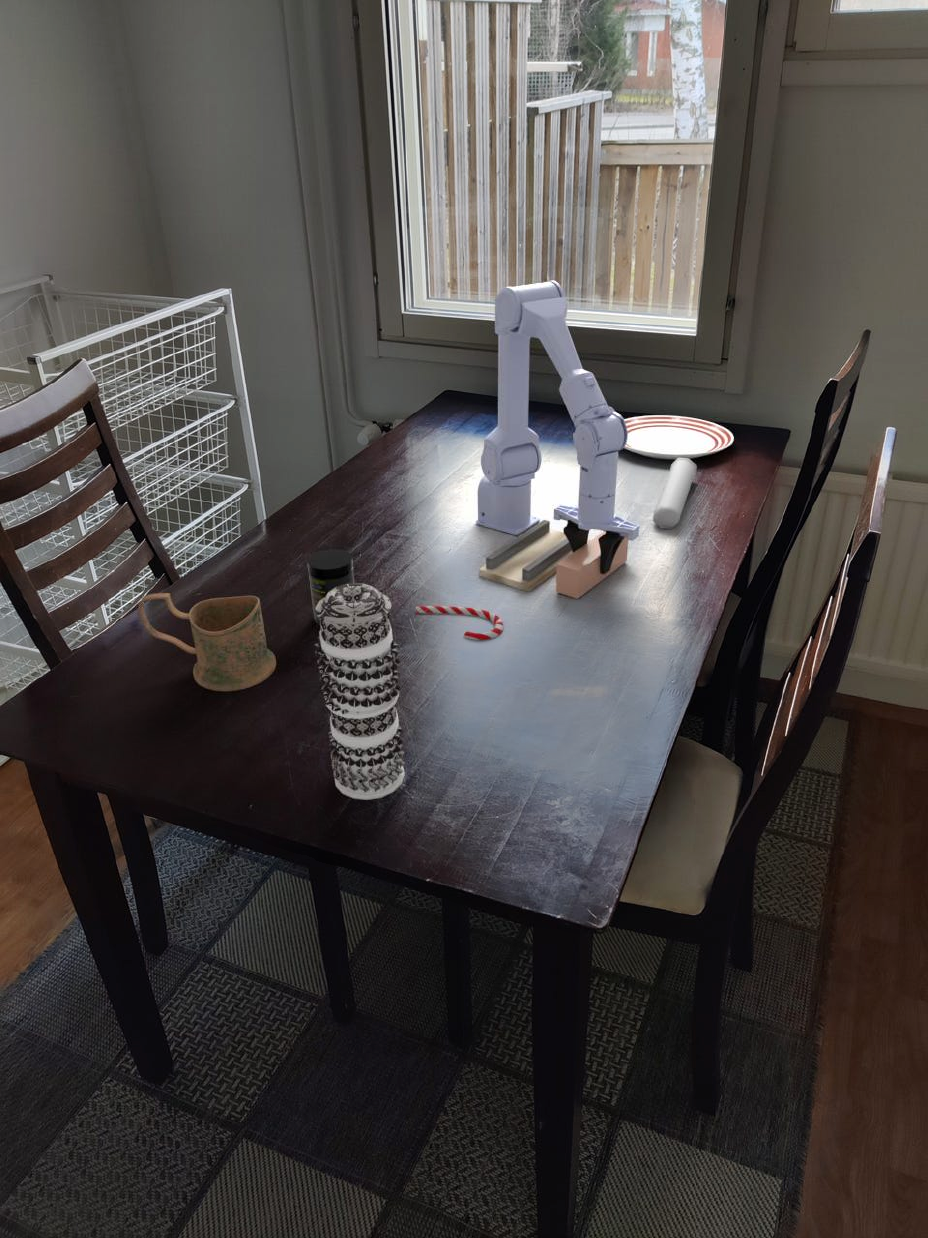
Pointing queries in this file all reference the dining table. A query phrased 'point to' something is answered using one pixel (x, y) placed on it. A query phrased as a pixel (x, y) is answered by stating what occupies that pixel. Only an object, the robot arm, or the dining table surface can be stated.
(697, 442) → the dinner plate
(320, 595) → the supplement container
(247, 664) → the mug
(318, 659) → the decorative candle
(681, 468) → the tube
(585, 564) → the clay block
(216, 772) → the dining table surface
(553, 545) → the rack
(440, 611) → the candy cane
